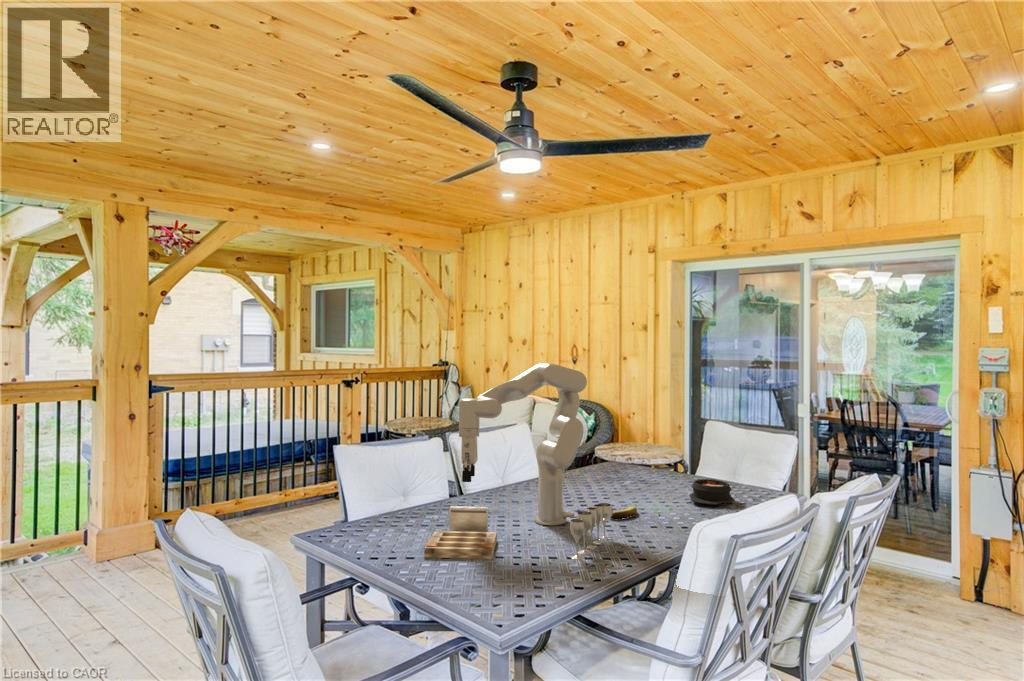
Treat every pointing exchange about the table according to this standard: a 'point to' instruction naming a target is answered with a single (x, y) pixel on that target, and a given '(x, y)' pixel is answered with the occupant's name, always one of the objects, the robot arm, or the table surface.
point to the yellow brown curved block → (624, 513)
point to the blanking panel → (468, 519)
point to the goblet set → (589, 525)
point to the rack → (461, 545)
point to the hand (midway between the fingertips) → (468, 478)
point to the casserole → (711, 492)
